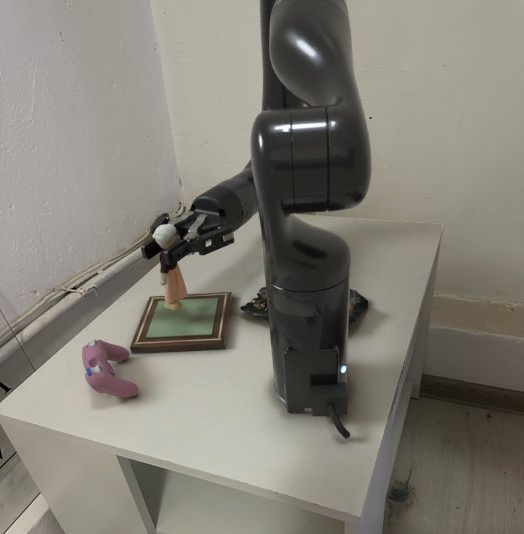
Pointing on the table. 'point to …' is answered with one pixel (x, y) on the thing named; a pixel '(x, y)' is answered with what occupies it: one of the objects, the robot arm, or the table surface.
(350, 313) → the decorative rock
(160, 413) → the table surface
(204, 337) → the board
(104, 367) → the video game controller
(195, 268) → the table surface
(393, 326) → the table surface
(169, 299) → the grandmother figurine
